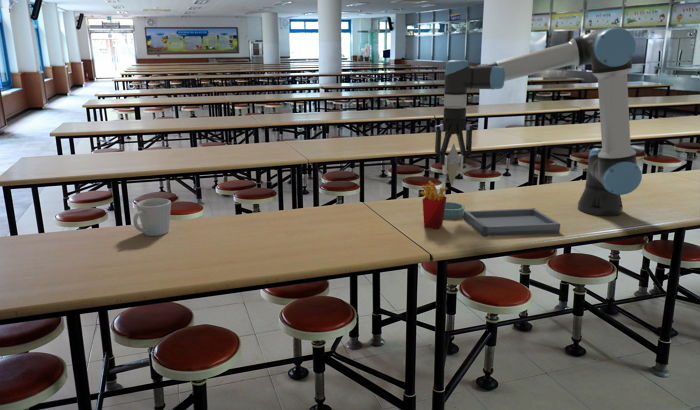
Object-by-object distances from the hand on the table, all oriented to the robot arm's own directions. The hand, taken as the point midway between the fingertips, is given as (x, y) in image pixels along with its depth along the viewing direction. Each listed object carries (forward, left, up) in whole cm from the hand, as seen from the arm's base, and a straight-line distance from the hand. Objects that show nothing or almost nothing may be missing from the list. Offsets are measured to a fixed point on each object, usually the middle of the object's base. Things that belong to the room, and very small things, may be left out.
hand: (452, 173), depth 195 cm
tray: (-16, +16, -15) cm, 27 cm away
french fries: (+11, +13, -15) cm, 23 cm away
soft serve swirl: (0, 0, -4) cm, 4 cm away
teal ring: (0, 0, -15) cm, 15 cm away
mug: (+101, +9, -15) cm, 103 cm away
